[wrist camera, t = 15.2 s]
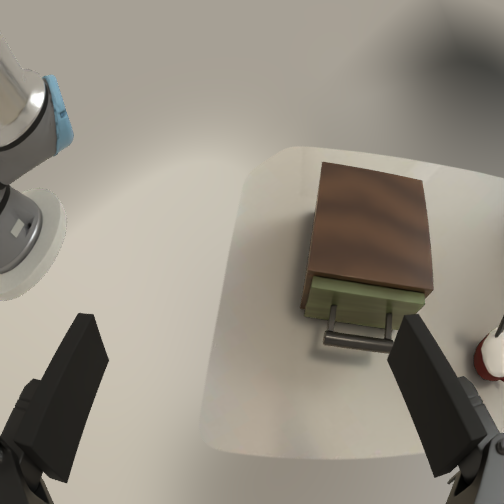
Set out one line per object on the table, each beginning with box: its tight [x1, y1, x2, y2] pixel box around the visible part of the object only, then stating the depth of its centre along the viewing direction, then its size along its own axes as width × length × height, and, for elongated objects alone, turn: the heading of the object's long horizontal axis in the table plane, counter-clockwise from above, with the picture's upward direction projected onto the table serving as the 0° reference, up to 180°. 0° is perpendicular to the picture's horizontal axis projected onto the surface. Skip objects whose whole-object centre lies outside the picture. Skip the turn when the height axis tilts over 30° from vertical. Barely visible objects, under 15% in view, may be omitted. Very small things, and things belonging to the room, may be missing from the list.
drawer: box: [304, 276, 425, 354], centre depth 34 cm, size 18×11×8 cm, turn 167°
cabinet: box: [300, 162, 434, 309], centre depth 36 cm, size 15×13×10 cm
